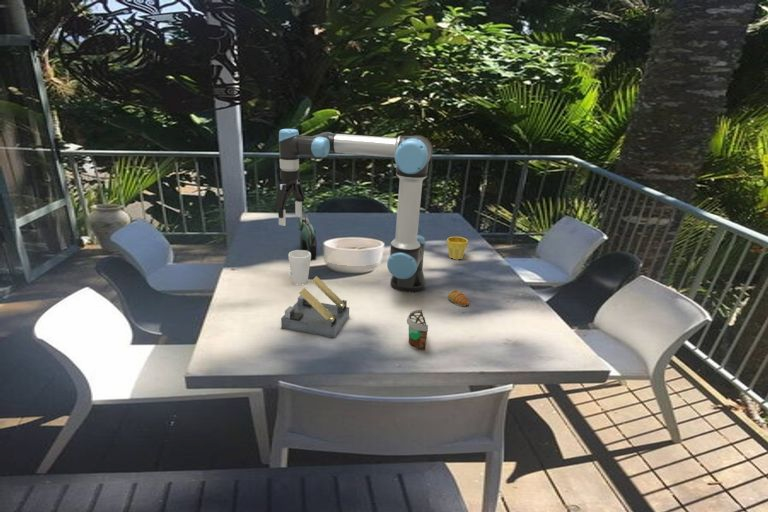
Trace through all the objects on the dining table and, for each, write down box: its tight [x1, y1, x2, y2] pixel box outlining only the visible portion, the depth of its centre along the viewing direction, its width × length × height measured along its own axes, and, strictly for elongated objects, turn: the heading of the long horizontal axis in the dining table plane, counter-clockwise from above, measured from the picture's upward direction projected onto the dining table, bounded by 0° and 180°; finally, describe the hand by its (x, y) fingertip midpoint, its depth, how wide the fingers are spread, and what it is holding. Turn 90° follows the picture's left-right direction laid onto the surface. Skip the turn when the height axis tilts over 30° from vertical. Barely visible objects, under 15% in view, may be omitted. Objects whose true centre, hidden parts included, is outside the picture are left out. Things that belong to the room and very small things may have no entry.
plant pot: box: [446, 236, 469, 260], centre depth 245 cm, size 10×10×10 cm
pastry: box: [447, 289, 470, 307], centre depth 198 cm, size 9×7×4 cm
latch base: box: [280, 294, 350, 339], centre depth 176 cm, size 20×17×7 cm
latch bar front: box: [298, 287, 335, 322], centre depth 168 cm, size 15×3×2 cm
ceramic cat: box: [297, 214, 318, 261], centre depth 238 cm, size 20×6×20 cm, turn 23°
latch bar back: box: [311, 275, 346, 308], centre depth 178 cm, size 15×3×2 cm
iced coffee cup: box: [406, 309, 429, 351], centre depth 166 cm, size 12×6×10 cm, turn 5°
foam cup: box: [288, 249, 312, 286], centre depth 207 cm, size 10×9×13 cm
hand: (290, 220), depth 199 cm, fingers open, 13 cm apart
